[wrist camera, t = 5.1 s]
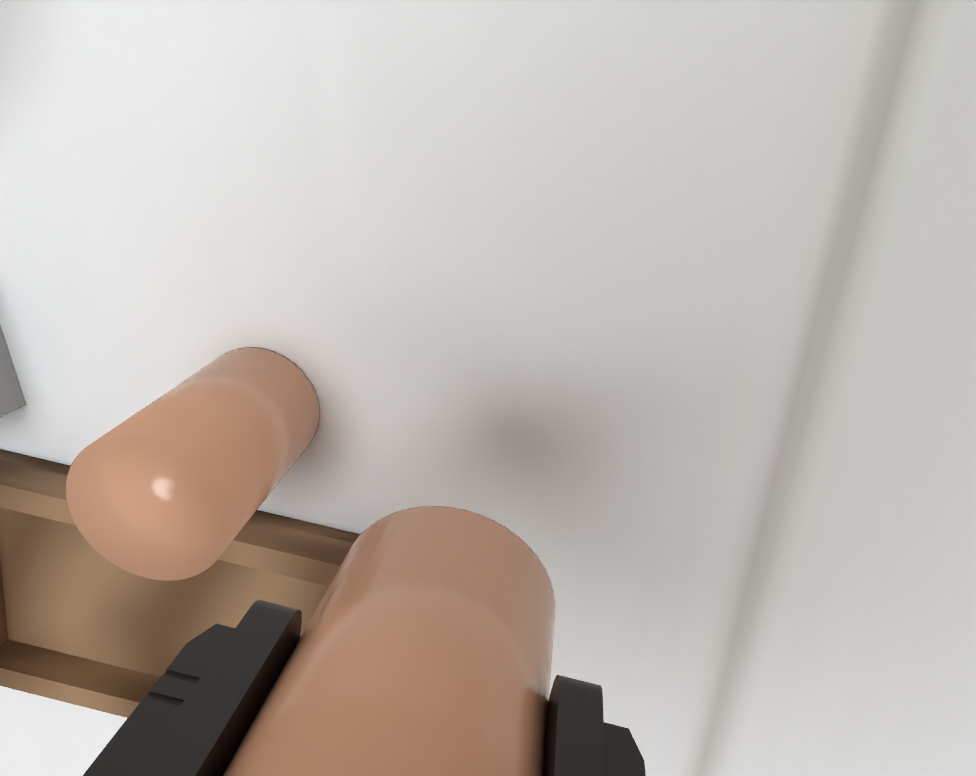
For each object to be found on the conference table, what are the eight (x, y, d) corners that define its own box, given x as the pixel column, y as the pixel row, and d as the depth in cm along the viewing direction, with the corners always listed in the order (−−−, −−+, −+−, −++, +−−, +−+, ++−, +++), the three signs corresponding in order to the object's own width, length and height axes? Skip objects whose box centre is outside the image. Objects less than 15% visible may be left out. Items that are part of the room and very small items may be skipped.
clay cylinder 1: (324, 362, 23) (230, 456, 16) (314, 471, 24) (225, 595, 18) (201, 335, 23) (60, 419, 16) (200, 446, 25) (70, 560, 18)
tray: (426, 550, 25) (414, 583, 23) (389, 739, 29) (377, 780, 27) (-21, 444, 26) (-67, 468, 24) (-1, 641, 29) (-40, 675, 28)
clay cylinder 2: (578, 537, 12) (566, 987, 6) (529, 705, 14) (477, 1194, 8) (353, 482, 13) (109, 855, 6) (332, 653, 14) (122, 1084, 8)
